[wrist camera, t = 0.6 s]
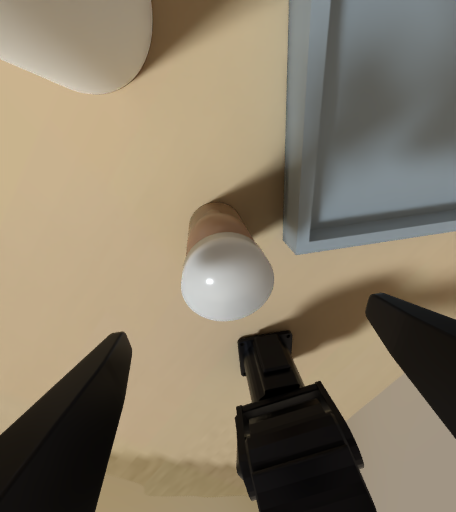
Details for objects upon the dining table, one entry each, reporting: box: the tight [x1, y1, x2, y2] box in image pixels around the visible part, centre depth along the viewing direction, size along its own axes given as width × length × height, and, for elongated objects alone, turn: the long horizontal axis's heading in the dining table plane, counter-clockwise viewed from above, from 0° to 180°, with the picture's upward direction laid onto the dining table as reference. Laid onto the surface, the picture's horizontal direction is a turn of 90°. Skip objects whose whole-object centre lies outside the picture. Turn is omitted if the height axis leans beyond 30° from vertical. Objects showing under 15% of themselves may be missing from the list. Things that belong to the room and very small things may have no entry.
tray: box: [283, 0, 456, 255], centre depth 15 cm, size 18×20×3 cm
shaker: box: [181, 202, 274, 321], centre depth 15 cm, size 5×5×8 cm
